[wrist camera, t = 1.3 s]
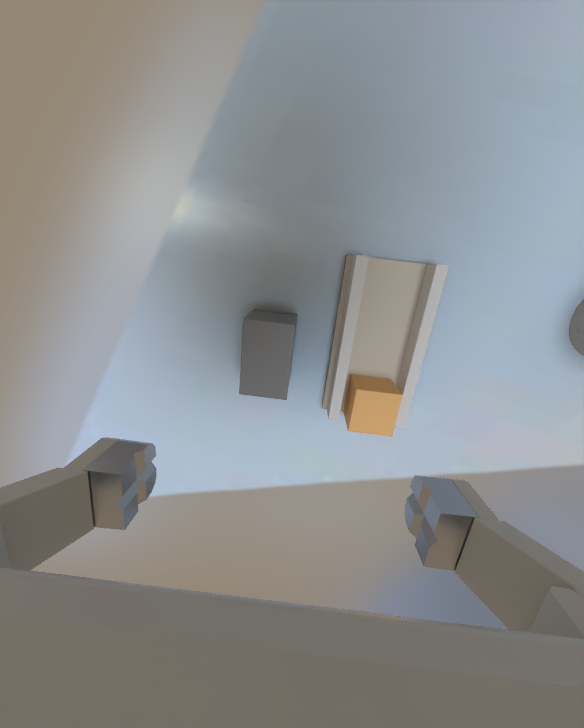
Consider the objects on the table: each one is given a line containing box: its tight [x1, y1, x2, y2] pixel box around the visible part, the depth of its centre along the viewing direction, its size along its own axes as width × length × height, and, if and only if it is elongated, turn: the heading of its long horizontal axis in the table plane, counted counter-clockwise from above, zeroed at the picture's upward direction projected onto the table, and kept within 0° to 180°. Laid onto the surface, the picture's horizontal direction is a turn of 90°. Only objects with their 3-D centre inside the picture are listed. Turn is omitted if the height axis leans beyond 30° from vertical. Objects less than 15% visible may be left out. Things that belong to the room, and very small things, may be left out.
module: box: [239, 310, 297, 400], centre depth 32 cm, size 8×5×6 cm, turn 174°
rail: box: [322, 255, 449, 436], centre depth 32 cm, size 18×10×6 cm, turn 174°
